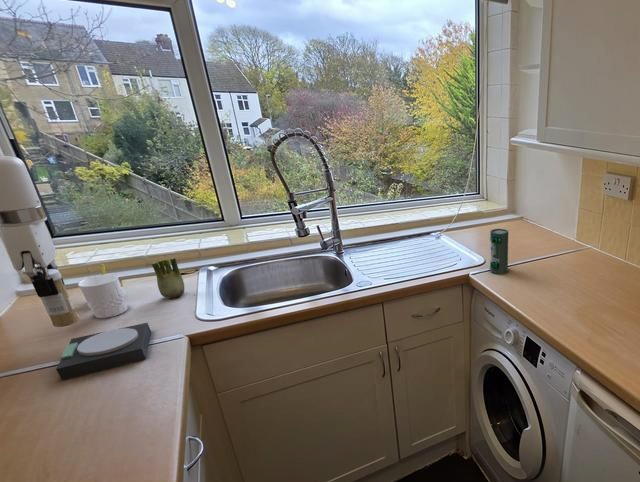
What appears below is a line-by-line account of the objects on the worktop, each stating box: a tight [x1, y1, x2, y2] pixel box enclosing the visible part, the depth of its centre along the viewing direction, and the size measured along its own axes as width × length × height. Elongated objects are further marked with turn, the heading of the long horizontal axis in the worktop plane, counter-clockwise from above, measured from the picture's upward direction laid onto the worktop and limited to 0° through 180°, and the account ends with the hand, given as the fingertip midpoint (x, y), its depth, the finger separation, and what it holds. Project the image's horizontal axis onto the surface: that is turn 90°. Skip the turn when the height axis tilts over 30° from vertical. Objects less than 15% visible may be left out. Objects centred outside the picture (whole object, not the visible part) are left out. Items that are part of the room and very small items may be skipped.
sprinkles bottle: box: [39, 269, 80, 328], centre depth 96 cm, size 5×5×13 cm
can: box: [489, 228, 509, 275], centre depth 145 cm, size 6×6×15 cm
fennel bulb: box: [151, 257, 185, 299], centre depth 121 cm, size 6×5×12 cm
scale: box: [55, 322, 152, 381], centre depth 96 cm, size 14×14×4 cm
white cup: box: [77, 274, 129, 319], centre depth 112 cm, size 8×8×10 cm
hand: (52, 290), depth 95 cm, fingers closed on sprinkles bottle, 4 cm apart
